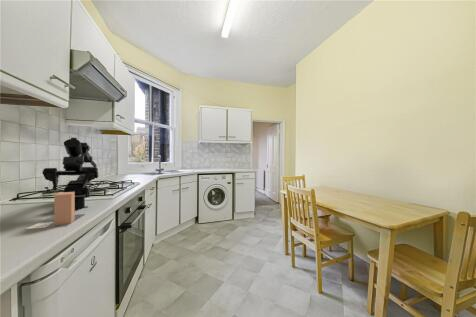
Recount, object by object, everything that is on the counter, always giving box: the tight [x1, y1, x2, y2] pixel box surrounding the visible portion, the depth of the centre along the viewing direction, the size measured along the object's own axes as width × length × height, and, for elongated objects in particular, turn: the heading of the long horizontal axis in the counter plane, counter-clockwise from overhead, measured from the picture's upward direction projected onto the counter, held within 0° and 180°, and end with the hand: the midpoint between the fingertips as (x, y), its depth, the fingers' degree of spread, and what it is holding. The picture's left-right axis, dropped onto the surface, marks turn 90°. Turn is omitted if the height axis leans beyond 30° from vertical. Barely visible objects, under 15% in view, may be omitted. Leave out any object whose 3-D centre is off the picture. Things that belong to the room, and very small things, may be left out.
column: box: [53, 191, 76, 226], centre depth 74 cm, size 5×5×12 cm
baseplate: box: [24, 213, 86, 231], centre depth 75 cm, size 15×12×1 cm
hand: (69, 188), depth 79 cm, fingers open, 9 cm apart
